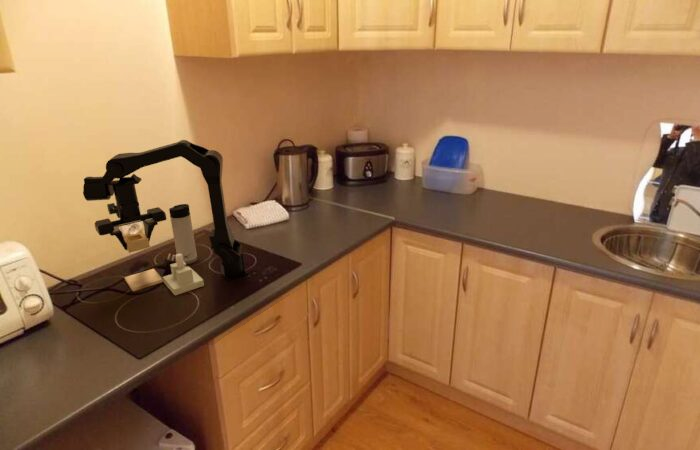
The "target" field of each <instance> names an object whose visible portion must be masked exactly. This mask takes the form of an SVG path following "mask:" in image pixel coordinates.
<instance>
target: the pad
mask: <svg viewBox="0 0 700 450" xmlns="http://www.w3.org/2000/svg"><path fill="white" fill-rule="evenodd" d="M123 278H124V280H125V282H126V283H127V285H128V287H129V288H130V289H131V291H132V292H136V291H139V290H142V289H146V288H148V287H152V286H154V285H158V284H161V283H164V281H163V277H162V276H160V274H159V272H157V270H155V268H151V269H148V270H145V271H141V272H138V273H134V274H130V275H128V276H125V277H123Z"/></svg>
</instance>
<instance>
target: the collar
mask: <svg viewBox="0 0 700 450" xmlns="http://www.w3.org/2000/svg"><path fill="white" fill-rule="evenodd" d="M123 238H124V241H125V244H126V248H127V250H126V251H127V252H128V253H129V254H131V253H133V252H138V251H141V250H145V249H148V248H151V245H150V241H149V240H148V238H147V236H146V235H145V232H142V231H141V232H138V233H133V234H129V235H126V236H123Z"/></svg>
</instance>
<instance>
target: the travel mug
mask: <svg viewBox="0 0 700 450" xmlns="http://www.w3.org/2000/svg"><path fill="white" fill-rule="evenodd" d="M168 211H169V217H170V224H171V229H172V235H173V239H174V246H175V247H174V248H175V250H176V254H182V256H183V261H184V262H185V263H186V265H189V264H193V263H195V262H197V260H198V254H197V248H196V247H197V246H196V241H195V237H194V236H195V235H194V230H193V223H192V217H191V212H190V204H188V203H181V204H177V205H174V206H172V207H170V208H169V209H168Z"/></svg>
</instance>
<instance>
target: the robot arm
mask: <svg viewBox="0 0 700 450" xmlns="http://www.w3.org/2000/svg"><path fill="white" fill-rule="evenodd" d="M180 157H181V158H183V159H184V160H187V161H188V162H190V164H192V165H194V166H196V167H198V168H200V171H201V175H202V177H203V178H204V181H205V183H206V185H207V189H208V195H209V201H210V207H211V215H212V220H213V228H214V229H213V228H212V229H211V230H210V234H209V241H210V244H211V247H210V249H211V250H213V253H214V254H215V255H217V256H218V257H219V258H220V259H221V261H220V265H219V266H220V273H221V275H222V276H223V277H224V278H226V279H227V280H228V281H231V280H234V279H237V278H241V277H242V276H243V277H244V276H247V275H248V271H247V270H246V268H245V258H244V254H242V248H243V247H242V246H243V244H242V243H241V242H239V241H238V240H236V239H235V237H234V234H233V232H232V229H231V227H230V225H229V223H228V216H227V210H226V204H225V197H224V191H223V183H222V177H223V176H222V175H223V161H224V159H223V156H222V154H221V153H220V152H219V151H217V150H215V149H214V150H213V149H210V150H209V149H208V148H205V147H204V146H201V145H199V144H198V145H197V144H194V143H192V142H190V141H188V140H186V139H181V140H179V141H177V142H174V143H171V144H167V145H162V146H159V147H156V148H155V147H154V148H152V149H148V150H144V151H141V152H123V153H118V154H114V156H112V157H111V158H110V159H108V161H106V164H105V170H106V171H105V173H104V175H103V176H86V177H84V178H83V182H84V183H83V187H82V188H83V191H82V195H83V198H84V199H85V200H86V201H87V202H90V201H91V202H92V201H107V200H108V201H109V200H110V199H111V197H112V196H114V199H115V202H111V203H107V204H106V207H107V211H108V214H109V215H116V217H117V218H118V219H117V220H113V221H111V219H110V218H104V219H100V220H95V222H94V228H95V231H96V232H97V234H98V235H99V236H106V235H110V236H115V238H117V239H118V242H120V244H121V246H122V248H123V249H124V250H125V251H127V248H126V244H125V241H124V238H123V237H124V235H123V232H122V230H121V229H120V227H123V226H128V225H131V224H132V225H133V224H136V223H141V222H142V224H143V231H144V234H145V235H146V236H147V238H148V240H149V242H150V241H151V238H152V237H151V236H152V234H153V231H154V229H155V226H158V225H159V223H160V222H163V221H167V214H166V212H165V211H164V210H163V209H162V208H160V207H153V208H149V209H146V213H141V210H140V209H141V208H140V203H139V200H138V195H137V190H136V186H135V185H138V184H139V183H141V181H142V178H141V177H139V176H138V175H136V174H135V172H136V171H138V170H141V169H142V168H145V167H148V166H152V165H155V164H159V163H162V162H166V161H169V160H172V159H176V158H180ZM130 174H132V175H131V176H129V175H130ZM116 179H117V180H116ZM115 204H116V205H115Z"/></svg>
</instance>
